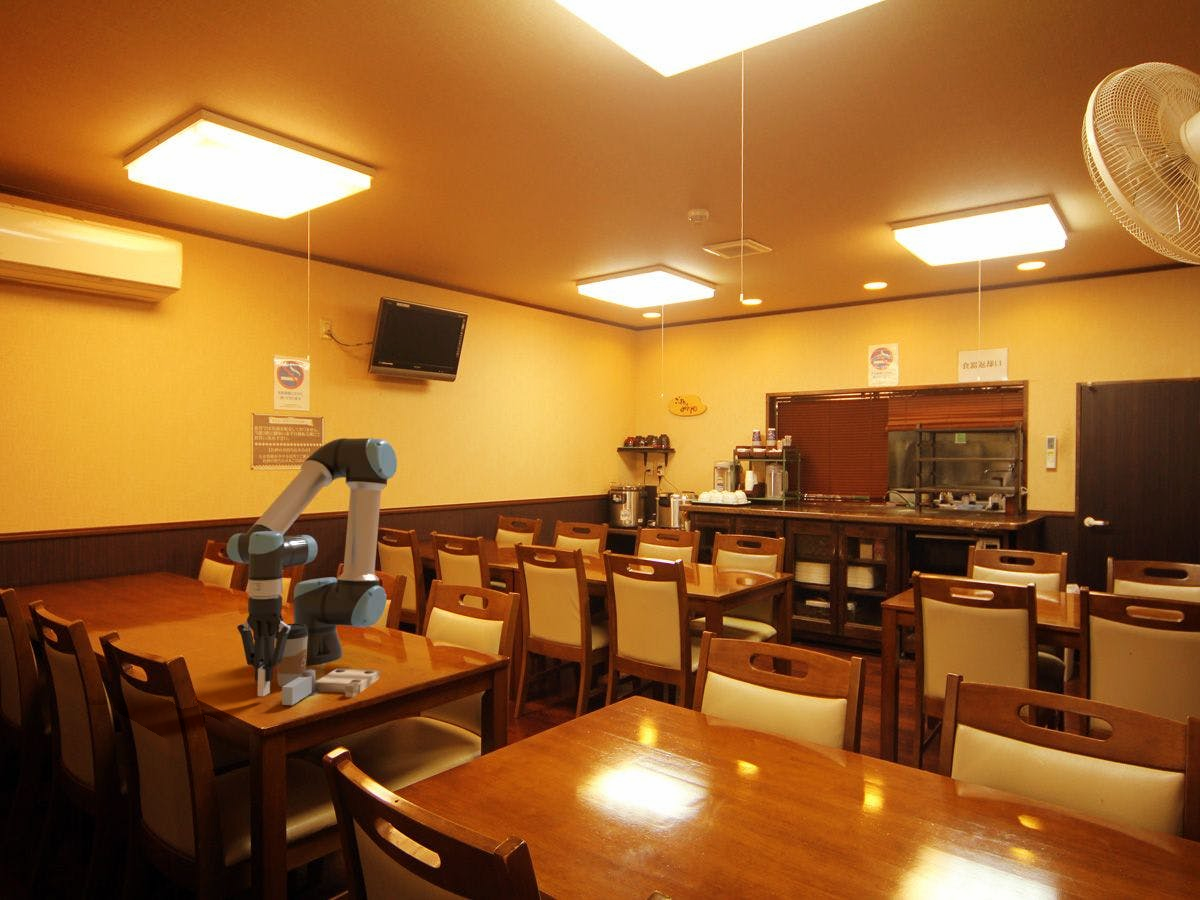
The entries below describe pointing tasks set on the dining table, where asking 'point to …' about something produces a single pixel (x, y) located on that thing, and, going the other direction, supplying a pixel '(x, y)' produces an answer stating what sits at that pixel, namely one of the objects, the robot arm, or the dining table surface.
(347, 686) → the seat panel
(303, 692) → the leg bar
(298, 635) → the coffee cup
